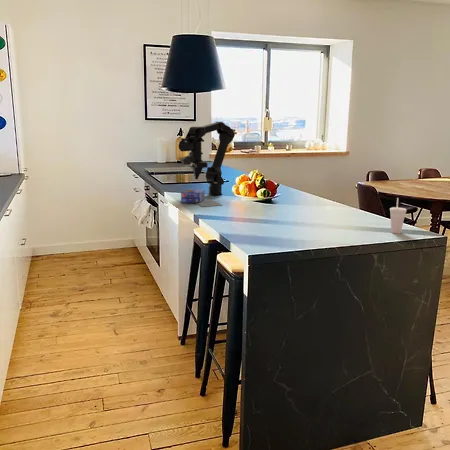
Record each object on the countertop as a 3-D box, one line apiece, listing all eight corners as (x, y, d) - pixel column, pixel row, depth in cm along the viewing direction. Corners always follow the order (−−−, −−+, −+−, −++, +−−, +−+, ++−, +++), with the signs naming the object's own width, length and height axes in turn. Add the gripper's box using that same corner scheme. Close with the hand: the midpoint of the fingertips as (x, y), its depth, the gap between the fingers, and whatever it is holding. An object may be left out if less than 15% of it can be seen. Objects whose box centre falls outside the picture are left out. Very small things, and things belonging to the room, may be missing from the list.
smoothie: (384, 230, 192) (388, 196, 189) (400, 230, 193) (403, 196, 189) (391, 234, 186) (394, 199, 183) (407, 234, 186) (410, 199, 183)
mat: (211, 200, 254) (211, 199, 254) (222, 205, 240) (222, 205, 240) (192, 201, 250) (192, 200, 250) (202, 206, 236) (202, 206, 236)
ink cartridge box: (204, 189, 254) (197, 193, 240) (205, 199, 255) (198, 204, 241) (187, 188, 256) (179, 193, 242) (187, 198, 257) (179, 204, 243)
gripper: (176, 149, 260) (177, 177, 263) (187, 152, 243) (188, 182, 247) (195, 149, 264) (195, 176, 268) (207, 151, 248) (208, 181, 251)
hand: (196, 179), depth 258 cm, fingers closed
